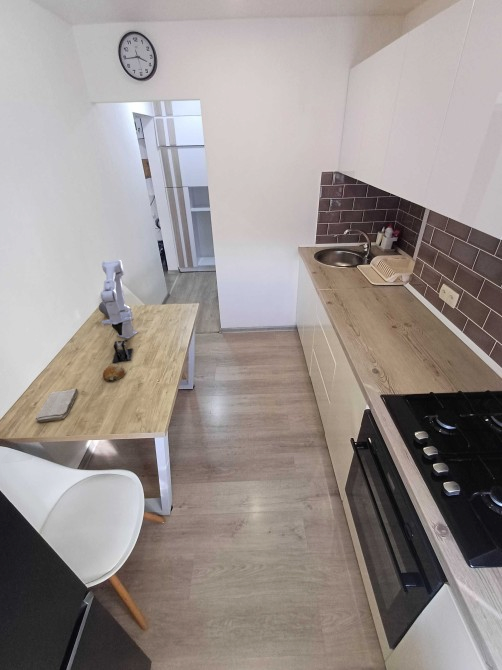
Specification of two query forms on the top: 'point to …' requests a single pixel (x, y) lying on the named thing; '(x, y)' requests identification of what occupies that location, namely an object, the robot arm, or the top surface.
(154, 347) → the top surface
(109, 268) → the robot arm
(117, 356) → the tap bracket
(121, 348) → the tap lever
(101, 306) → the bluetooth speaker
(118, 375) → the bread roll
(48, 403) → the washcloth
